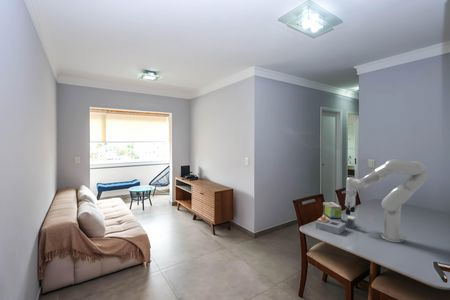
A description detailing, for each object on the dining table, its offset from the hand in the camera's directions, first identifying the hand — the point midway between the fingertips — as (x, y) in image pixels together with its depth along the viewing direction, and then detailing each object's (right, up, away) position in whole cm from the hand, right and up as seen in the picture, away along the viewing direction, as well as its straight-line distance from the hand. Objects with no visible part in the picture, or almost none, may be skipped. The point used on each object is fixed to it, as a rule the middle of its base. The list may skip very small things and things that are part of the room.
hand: (350, 213), depth 181 cm
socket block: (-16, -12, -1) cm, 21 cm away
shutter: (-20, -7, +3) cm, 22 cm away
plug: (+1, -12, 0) cm, 12 cm away
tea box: (-6, -12, +18) cm, 22 cm away
